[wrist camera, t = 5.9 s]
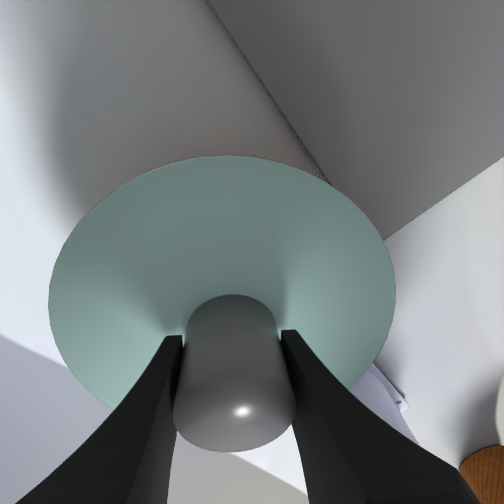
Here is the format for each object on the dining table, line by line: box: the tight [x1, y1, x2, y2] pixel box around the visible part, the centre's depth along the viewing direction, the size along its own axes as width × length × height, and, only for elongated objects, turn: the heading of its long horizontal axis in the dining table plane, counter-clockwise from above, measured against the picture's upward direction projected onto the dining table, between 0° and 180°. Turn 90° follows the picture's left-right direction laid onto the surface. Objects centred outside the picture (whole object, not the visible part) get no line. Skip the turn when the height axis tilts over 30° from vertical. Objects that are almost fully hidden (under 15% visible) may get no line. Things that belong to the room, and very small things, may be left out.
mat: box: [206, 0, 504, 240], centre depth 14 cm, size 18×16×1 cm
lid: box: [48, 155, 396, 452], centre depth 12 cm, size 15×15×5 cm
